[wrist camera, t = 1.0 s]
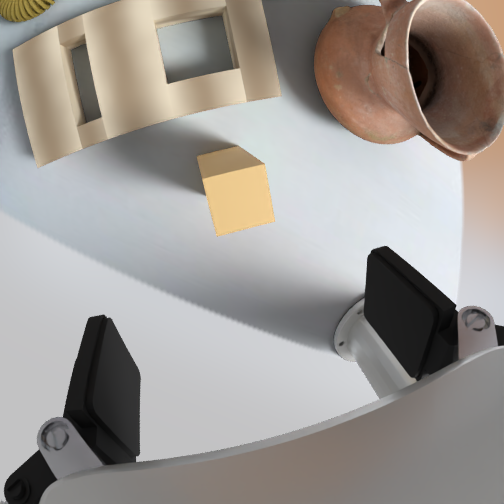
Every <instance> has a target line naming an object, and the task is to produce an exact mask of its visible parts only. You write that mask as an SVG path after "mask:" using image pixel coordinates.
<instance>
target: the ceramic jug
mask: <svg viewBox="0 0 504 504" xmlns="http://www.w3.org/2000/svg"><path fill="white" fill-rule="evenodd" d="M379 1H380V3H381V6H382V7H381V6H375V5H360V6H355V7H351V8H350V7H349V6H345V7H338V8H335V9H334V10H333V12H332V15H331V17H330V19H329V21H328V23H327V24H326V25H325V27H324V28H323V30H322V32H321V33H320V36H319V38H318V41H317V44H316V48H315V54H314V72H315V78H316V82H317V86H318V89H319V92H320V94H321V97H322V99H323V101H324V103H325V105H326V106H327V108H328V109H329V111H330V112H331V113H332V115H333V116H334V117H335V118H336V119H337V120H338V121H339V123H341V124H342V125H343V126H344V127H345V128H346V129H347V130H349V131H350V132H351V133H353V134H355V135H356V136H358V137H360V138H362V139H364V140H367V141H370V142H373V143H378V144H395V143H400V142H403V141H406V140H408V139H410V138H412V137H414V136H416V135H419V136H421V137H422V138H424V139H425V140H426V141H427V142H429V143H430V144H431V145H432V146H434V147H435V148H437V149H438V150H440V151H441V152H443V153H445V154H446V155H448V156H450V157H452V158H454V159H456V160H459V161H467V160H470V159H472V158H474V157H475V156H476V154H477V153H480V152H482V151H483V150H484V149H485V148H487V147H489V146H491V145H492V144H493V143H494V142H495V141H496V139H497V138H498V136H499V135H500V133H501V130H502V127H503V125H504V55H503V52H502V49H501V46H500V44H499V42H498V40H497V38H496V36H495V34H494V32H493V30H492V28H491V27H490V25H489V24H488V23H487V22H486V21H485V19H484V18H483V16H482V15H481V14H480V13H479V12H478V11H477V10H476V9H475V8H474V7H473V6H472V5H470V4H469V3H468V2H467V1H465V0H412V1H411V2H407V1H406V0H379Z"/></svg>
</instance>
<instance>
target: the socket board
mask: <svg viewBox="0 0 504 504" xmlns="http://www.w3.org/2000/svg"><path fill="white" fill-rule="evenodd" d="M221 15H222V17H223V22H224V26H225V31H226V36H227V40H228V45H229V49H230V54H231V59H232V63H233V68H234V69H233V70H228V71H222V72H217V73H212V74H207V75H203V76H198V77H194V78H190V79H186V80H182V81H178V82H174V83H170V84H168V81H167V77H166V72H165V68H164V63H163V58H162V54H161V49H160V44H159V39H158V34H157V29H159V28H163V27H167V26H171V25H175V24H179V23H184V22H188V21H193V20H198V19H204V18H209V17H215V16H221ZM85 43H86V44H87V49H88V55H89V60H90V65H91V70H92V75H93V80H94V85H95V89H96V94H97V98H98V103H99V107H100V111H101V115H102V117H101V118H99V119H96V120H93V121H91V122H88V123H86V119H85V115H84V111H83V107H82V103H81V98H80V94H79V89H78V84H77V80H76V75H75V69H74V64H73V59H72V53H71V49H73V48H76V47H78V46H80V45H83V44H85ZM13 58H14V65H15V72H16V79H17V84H18V90H19V95H20V101H21V105H22V110H23V115H24V119H25V123H26V128H27V132H28V136H29V139H30V143H31V147H32V150H33V154H34V157H35V161H36V164H37V167H38V168H39V167H41V166H44V165H46V164H48V163H50V162H53V161H55V160H57V159H59V158H62V157H64V156H67V155H69V154H71V153H74V152H76V151H79V150H81V149H84V148H86V147H89V146H92V145H94V144H97V143H100V142H102V141H105V140H108V139H111V138H113V137H116V136H119V135H122V134H125V133H128V132H131V131H134V130H137V129H141V128H144V127H147V126H150V125H154V124H157V123H160V122H164V121H168V120H171V119H175V118H178V117H182V116H186V115H190V114H194V113H198V112H202V111H206V110H211V109H215V108H220V107H224V106H229V105H234V104H239V103H244V102H250V101H255V100H261V99H267V98H273V97H280V96H282V95H281V90H280V85H279V80H278V75H277V69H276V65H275V60H274V55H273V50H272V45H271V41H270V36H269V31H268V27H267V23H266V18H265V14H264V10H263V5H262V1H261V0H120V1H117V2H114V3H111V4H108V5H106V6H103V7H100V8H98V9H95V10H92V11H90V12H87V13H85V14H82V15H80V16H78V17H75V18H73V19H71V20H68V21H66V22H64V23H62V24H60V25H58V26H55V27H53V28H51V29H49V30H47V31H45V32H43V33H41V34H39V35H38V36H36V37H34V38H32V39H30V40H28V41H27V42H25V43H23V44H21V45H20V46H18V47H16V48H14V49H13Z"/></svg>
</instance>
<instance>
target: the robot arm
mask: <svg viewBox="0 0 504 504" xmlns="http://www.w3.org/2000/svg"><path fill="white" fill-rule="evenodd" d="M455 308H456V304H455V303H453V302H452V301H451V300H450V299H449V298H448V297H447V296H446V295H445V294H443V293H442V292H441V291H440V290H439V289H438V288H437V287H436V286H434V285H433V284H432V283H431V282H430V281H429V280H427V279H426V278H425V277H424V276H423V275H422V274H420V273H419V272H418V271H417V270H416V269H415V268H413V267H412V266H411V265H410V264H409V263H407V262H406V261H405V260H404V259H402V258H401V257H400V256H399V255H398V254H396V253H395V252H394V251H393V250H391V249H390V248H389V247H387V246H383V247H379V248H376V249H373V250H372V251H371V254H369V255H368V258H367V273H366V287H365V298H363V299H362V300H360V301H359V302H358V303H356V304H355V305H354V306H353V307H352V308H351V309H350V310H349V311H348V312H347V313H346V314H345V315H344V317H343V318H342V320H341V321H340V323H339V325H338V327H337V329H336V332H335V336H334V345H335V349H336V351H337V352H338V354H339V355H340V356H341V358H343V359H344V360H347V361H350V362H357V364H358V365H359V367H360V368H361V370H362V372H363V373H364V374H365V376H366V378H367V379H368V381H369V383H370V384H371V386H372V387H373V389H374V391H375V392H376V394H377V396H378V397H379V400H377V401H375V402H372V403H370V404H368V405H365V406H363V407H360V408H358V409H356V410H353V411H350V412H348V413H345V414H343V415H340V416H337V417H334V418H332V419H329V420H326V421H323V422H321V423H318V424H315V425H311V426H308V427H305V428H302V429H299V430H296V431H292V432H289V433H286V434H282V435H279V436H275V437H272V438H268V439H264V440H260V441H256V442H252V443H248V444H244V445H240V446H236V447H231V448H227V449H221V450H217V451H211V452H206V453H200V454H194V455H188V456H181V457H174V458H168V459H161V460H153V461H143V462H136V456H139V454H140V423H139V422H140V415H139V414H140V379H141V378H140V372H139V369H138V367H137V366H136V364H135V362H134V360H133V358H132V357H131V355H130V353H129V352H128V349H127V348H126V346H125V344H124V342H123V340H122V338H121V336H120V335H119V333H118V331H117V329H116V327H115V325H114V323H113V321H112V319H111V318H107V317H106V316H105V315H99V316H94V317H90V318H89V319H88V321H87V324H86V328H85V331H84V335H83V338H82V342H81V346H80V349H79V353H78V357H77V359H76V361H75V364H74V368H73V372H72V377H71V381H70V386H69V390H68V395H67V399H66V404H65V409H64V414H63V417H56V418H52V419H50V420H48V421H46V422H45V423H44V424H43V425H42V426H41V428H40V430H39V432H38V435H37V444H38V447H39V450H38V451H37V452H36V453H35V454H34V455H32V456H31V457H30V458H29V459H28V460H27V461H26V462H25V463H24V464H23V465H21V466H20V467H19V468H18V469H17V470H16V471H15V472H14V473H13V474H11V475H10V476H9V478H8V479H7V481H6V483H5V487H4V495H5V498H6V502H3V501H1V503H0V504H504V326H499V325H495V324H494V320H493V317H492V316H491V315H490V313H489V312H487V311H486V310H485V309H482V308H481V307H477V306H467V307H464V308H462V309H461V310H460V311H459V312H457V311H456V310H455Z"/></svg>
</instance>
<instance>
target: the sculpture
mask: <svg viewBox="0 0 504 504" xmlns="http://www.w3.org/2000/svg"><path fill="white" fill-rule="evenodd" d="M48 2H49V3H50V4H52V5H53V4H54V3H55V2H54V1H53V0H0V14H1V15H2V17H3V18H5V19H6V20H9V21H12V22H21V21H26V20H30V19H33V18H34V17H37V16H39V15H40V14H42V13H44V12H45V10H48V9H49V8H50V5H49V3H48ZM44 3H45V4H44ZM41 6H42V9H41Z"/></svg>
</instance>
